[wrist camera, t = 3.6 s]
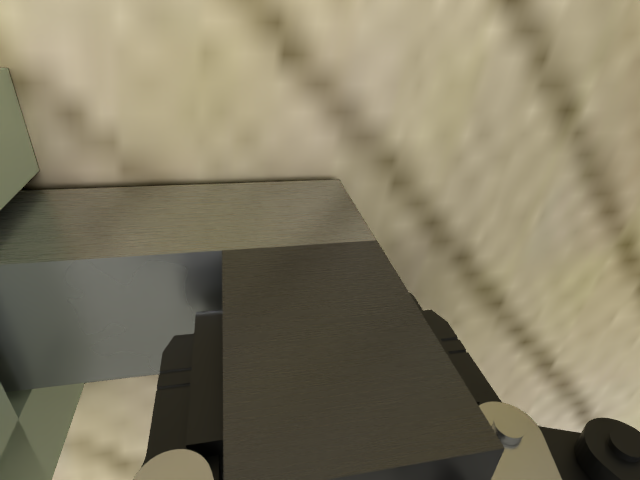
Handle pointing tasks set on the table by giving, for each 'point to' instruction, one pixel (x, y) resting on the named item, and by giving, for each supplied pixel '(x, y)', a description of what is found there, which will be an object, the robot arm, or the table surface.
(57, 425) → the bearing bridge
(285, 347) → the grey l-shaped bracket
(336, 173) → the table surface
